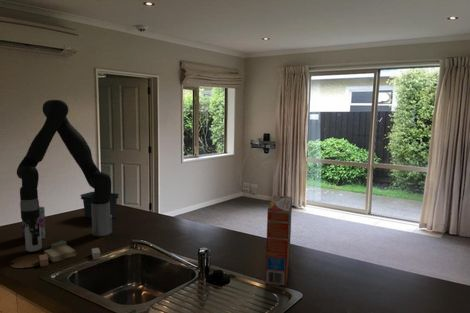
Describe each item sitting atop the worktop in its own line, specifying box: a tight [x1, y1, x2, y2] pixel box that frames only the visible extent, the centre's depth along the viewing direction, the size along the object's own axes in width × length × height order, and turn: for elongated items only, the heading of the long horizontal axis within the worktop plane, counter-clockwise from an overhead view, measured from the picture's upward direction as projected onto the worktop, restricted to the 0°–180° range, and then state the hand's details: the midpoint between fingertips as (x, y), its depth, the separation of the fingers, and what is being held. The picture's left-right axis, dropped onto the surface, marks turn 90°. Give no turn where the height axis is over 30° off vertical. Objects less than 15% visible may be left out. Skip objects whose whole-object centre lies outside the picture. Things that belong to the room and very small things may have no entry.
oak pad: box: [43, 244, 77, 263], centre depth 164 cm, size 10×10×2 cm
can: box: [24, 223, 43, 253], centre depth 168 cm, size 6×6×12 cm
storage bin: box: [79, 191, 120, 219], centre depth 221 cm, size 21×16×14 cm
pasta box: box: [264, 195, 293, 287], centre depth 150 cm, size 23×8×30 cm, turn 168°
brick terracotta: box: [38, 253, 49, 267], centre depth 156 cm, size 6×3×3 cm, turn 32°
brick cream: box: [91, 247, 101, 260], centre depth 164 cm, size 6×3×3 cm
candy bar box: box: [21, 205, 47, 240], centre depth 184 cm, size 11×5×16 cm, turn 68°
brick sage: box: [50, 240, 67, 249], centre depth 172 cm, size 6×3×3 cm, turn 153°
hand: (32, 242), depth 168 cm, fingers closed on can, 6 cm apart
